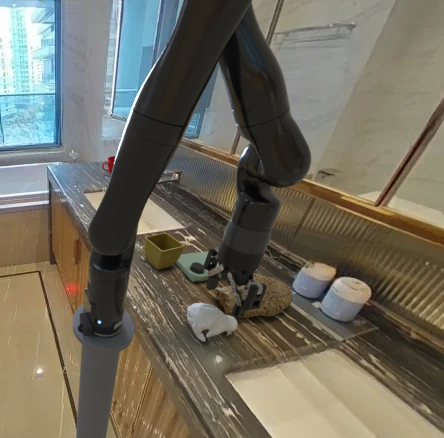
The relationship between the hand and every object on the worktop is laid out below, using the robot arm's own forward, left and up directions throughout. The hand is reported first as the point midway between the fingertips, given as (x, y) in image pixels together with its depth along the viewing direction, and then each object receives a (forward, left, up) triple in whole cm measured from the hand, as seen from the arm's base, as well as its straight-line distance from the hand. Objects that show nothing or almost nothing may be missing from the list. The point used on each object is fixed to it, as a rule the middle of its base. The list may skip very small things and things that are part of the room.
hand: (222, 301), depth 64 cm
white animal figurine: (0, 0, -11) cm, 11 cm away
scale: (+14, +23, -10) cm, 29 cm away
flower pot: (+1, +27, -11) cm, 29 cm away
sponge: (+17, +6, -11) cm, 21 cm away
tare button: (+8, +19, -8) cm, 22 cm away
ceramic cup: (+16, +109, -11) cm, 111 cm away
